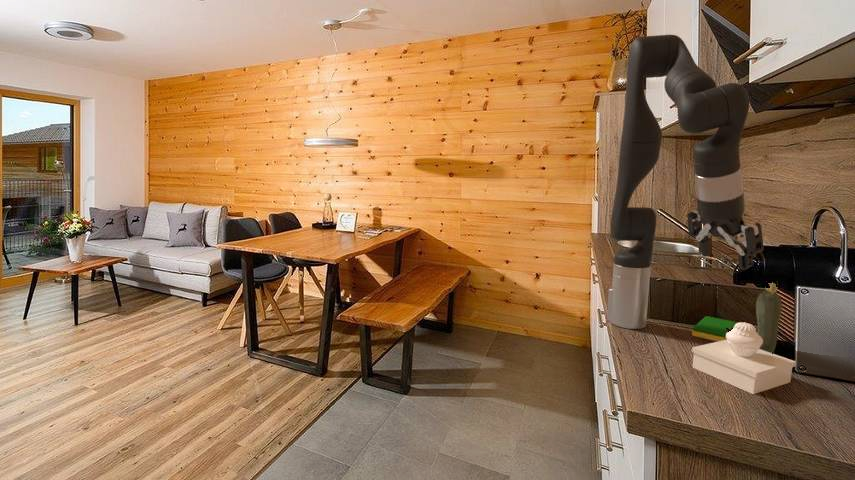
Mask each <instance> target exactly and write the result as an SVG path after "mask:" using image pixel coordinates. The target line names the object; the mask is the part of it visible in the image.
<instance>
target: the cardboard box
mask: <svg viewBox="0 0 855 480" xmlns="http://www.w3.org/2000/svg"><path fill="white" fill-rule="evenodd" d="M691 353H693V359H692V368H693V369H695V370H697V371H699V372H702V373H705V374H707V375H709V376H712V377H714V378H716V379H718V380H720V381H722V382H724V383H727V384H729V385H732V386H733V387H736V388H738V389H740V390H743V391H745V392H746V393H747V392H748V393H749V394H752V395H755V394H758V393H761V392H765V391H768V390H770V389H774V388H776V387H780V386H783V385H787V384H789V383H791V379H792V372H793V368H794V367H796V365H797V361H795V360H793V359H789V358H787V357H784V356H782V355H781V356H780V355H778V354H775V353H773V354H772V353H770V352H767V351H764V350H761V349H758V350H757V352H756V353H755V354H754V355H753V356H752V357H742V356H738V355H736V354H734V353H733V352H732V350H731V348H730V346H729V344H728V342H727V340H722V341H718V342H717V341H714V342H710V343H705V344H701V345H698V346H692V348H691Z"/></svg>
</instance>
